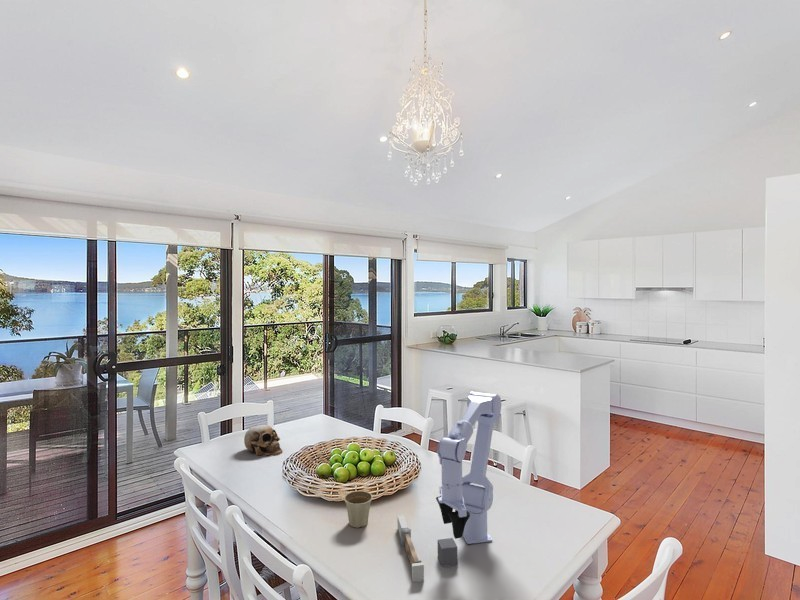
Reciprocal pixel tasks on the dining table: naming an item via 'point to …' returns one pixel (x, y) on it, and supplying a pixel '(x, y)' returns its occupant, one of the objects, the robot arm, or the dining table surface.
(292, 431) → the dining table surface
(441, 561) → the block
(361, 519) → the flower pot
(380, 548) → the dining table surface
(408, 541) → the door
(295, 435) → the dining table surface
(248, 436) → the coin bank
